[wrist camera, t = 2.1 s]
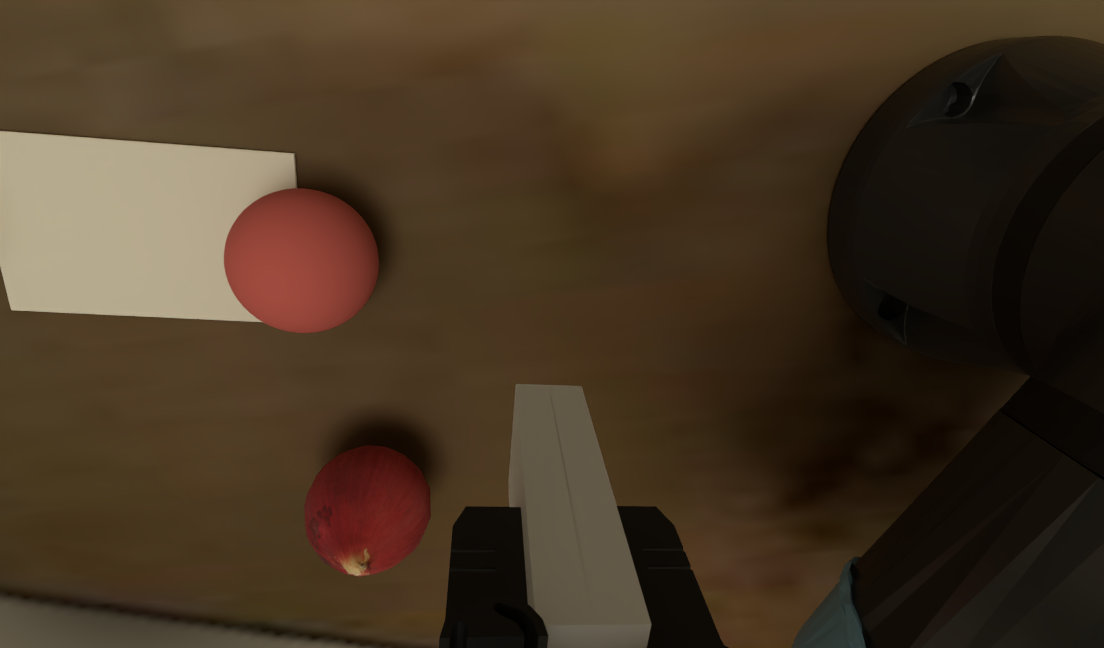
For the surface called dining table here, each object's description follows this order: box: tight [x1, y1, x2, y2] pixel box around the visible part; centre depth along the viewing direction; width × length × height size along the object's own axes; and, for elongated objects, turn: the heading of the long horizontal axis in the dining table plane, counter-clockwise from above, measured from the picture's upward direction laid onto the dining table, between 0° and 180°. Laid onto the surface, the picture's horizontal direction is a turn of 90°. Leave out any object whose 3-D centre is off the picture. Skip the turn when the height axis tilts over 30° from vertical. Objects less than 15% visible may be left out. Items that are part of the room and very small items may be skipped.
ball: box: [224, 188, 379, 333], centre depth 26 cm, size 6×6×6 cm
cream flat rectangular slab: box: [0, 131, 297, 322], centre depth 28 cm, size 13×8×1 cm, turn 85°
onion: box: [304, 445, 431, 576], centre depth 30 cm, size 6×6×8 cm
